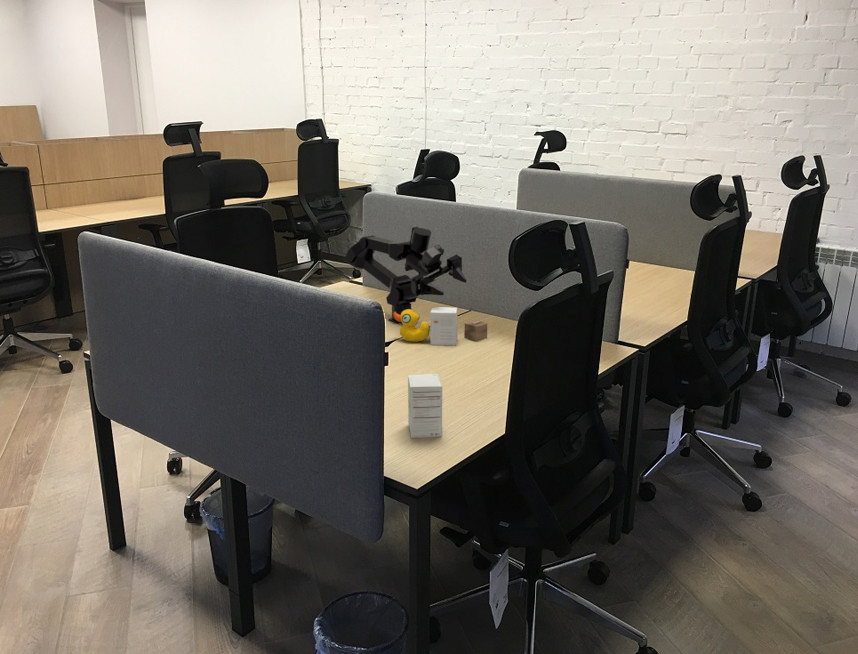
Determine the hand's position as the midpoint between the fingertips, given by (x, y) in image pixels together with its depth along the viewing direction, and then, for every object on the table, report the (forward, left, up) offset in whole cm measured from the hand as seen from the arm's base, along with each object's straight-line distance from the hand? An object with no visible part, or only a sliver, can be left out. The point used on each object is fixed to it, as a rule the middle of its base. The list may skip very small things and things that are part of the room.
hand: (454, 287), depth 227 cm
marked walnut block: (+4, +6, -17) cm, 18 cm away
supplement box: (+40, -50, -17) cm, 66 cm away
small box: (0, -4, -17) cm, 17 cm away
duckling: (-8, -10, -17) cm, 21 cm away
